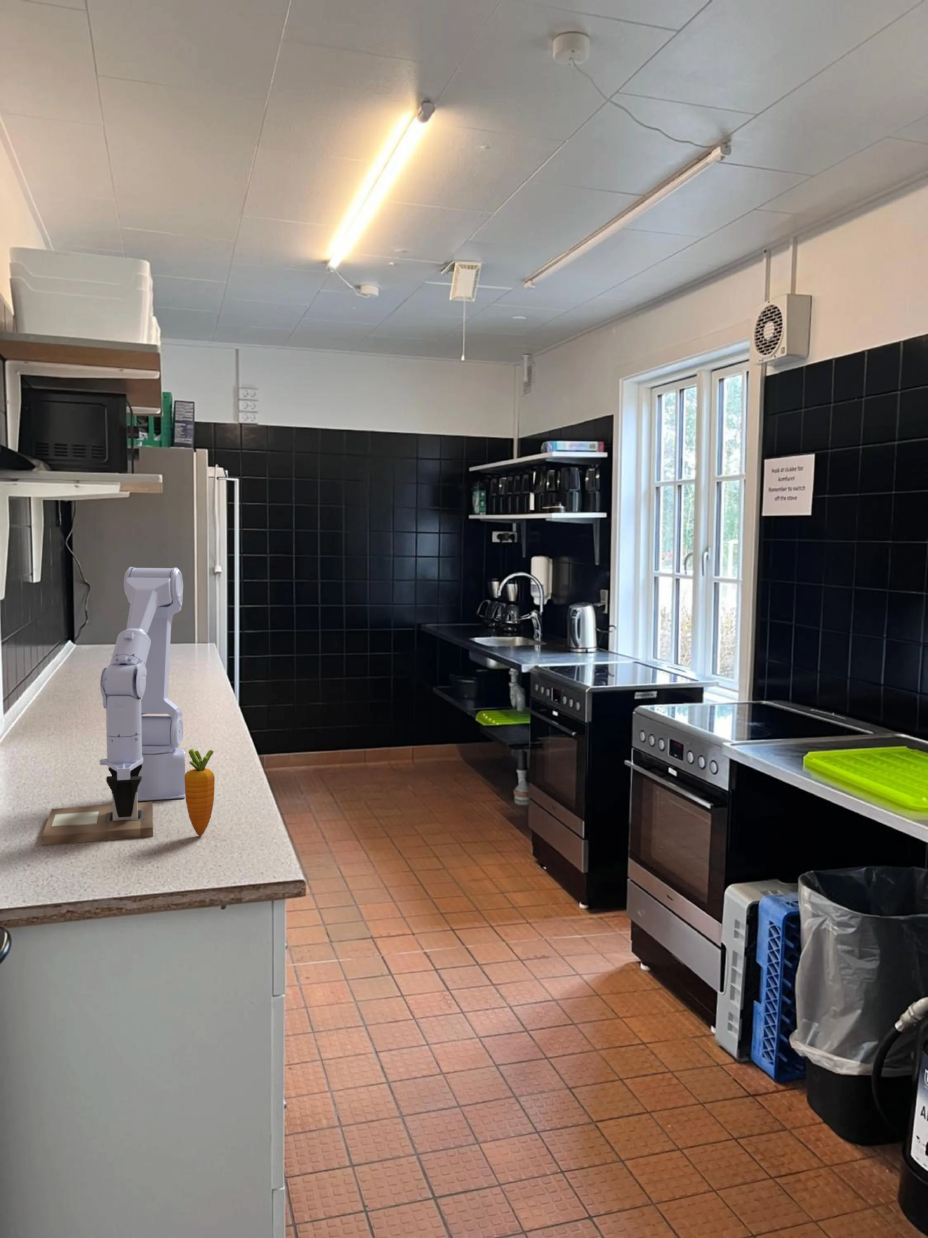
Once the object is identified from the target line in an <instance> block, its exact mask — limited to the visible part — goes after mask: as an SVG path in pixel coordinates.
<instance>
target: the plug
mask: <svg viewBox="0 0 928 1238" xmlns="http://www.w3.org/2000/svg"><path fill="white" fill-rule="evenodd" d="M111 796H112V798H111V799H112V803H111V804H112V805H113V821H116V820H129V819H138V803H139V801H138V788H137V791H136V794H135V799H134V806H133V812H132V815H131V817H118V814H117V811H116V806H115V801H114V797H113V794H112V793H111Z"/></svg>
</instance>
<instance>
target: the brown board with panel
mask: <svg viewBox="0 0 928 1238" xmlns="http://www.w3.org/2000/svg"><path fill="white" fill-rule="evenodd" d="M153 803H154V802H153V801H145V802H144V801H142V802H138V819H129V820H116V821H113V804H105V805H103V804H102V805H88V806H87V805H86V806H74V807H62V808H61V807H60V808H51V810H50V814H49V816H48V819H47V822H46V824H45V827H44V830H43V832H42V834H41V835H42V836H41V842H42V843H41V845H42V846H49V845H61V844H73V843H75V844H76V843H86V842H98V841H99V842H100V841H109V840H110V841H111V840H122V839H135V838H147V837H153V836H154V817H153V816H154V809H153V808H154V807H153V805H154V804H153Z"/></svg>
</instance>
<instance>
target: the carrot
mask: <svg viewBox="0 0 928 1238" xmlns="http://www.w3.org/2000/svg"><path fill="white" fill-rule="evenodd" d="M188 754H189V757H190V759H191V760H190V761H189V765H191V766H192V767H193V768H192V769H190V770H188V771H185V796H186V797H185V804H186V808H187V813H188V818H189V821H190V823H191V826H192V827H193V829H194V832H195V833H196V834H197V836H198V837H201V836H203V834H205V833H206V830H207V828H208V826H209V823H210V821H211V818H212V812H213V807H214V802H215V801H214V800H215V781H216V779H215V773H214V772H213V771H212V770H211V769H210V768H208V767H207V768H206V766H207V765H208V763H209V761H210V759H211V758H212V755H213V754H214V750H212V749H209V750H208V751H207V753H206V754H205V756H204V757H202V755H201V752H200V751H199V750H195V749H194V748H190V749H189V750H188Z"/></svg>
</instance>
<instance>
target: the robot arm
mask: <svg viewBox="0 0 928 1238" xmlns="http://www.w3.org/2000/svg"><path fill="white" fill-rule="evenodd" d="M123 590H124V594H125V596H126V599H127V602H128V603H129V611H128V615H127V616H128V617H127V624H126V629H125V630H122V631H121V632H119V634H118V635H117V638H116V642H115V645H114V649H113V652H112V655H111V659H110V663H109V665H108V666H107V667H104V668H103V669H102V671H101V674H100V679H99V680H100V681H99V682H100V683H99V687H100V688H99V689H100V693H101V696H102V706H103V708H104V710H105V714H106V715H105V719H106V720H105V721H106V722H105V723H106V724H105V725H106V726H105V727H106V730H105V731H106V758H101V759H99V765H100V766H107V767H108V771H109V774H110V775H108V776H106V778H105V779H106V784H107V785H108V787H109V788H110V791H111V795H112V794H113V797H114V801H115V806H116V811H117V814H118V817H131V815H132V812H133V806H134V799H135V794H136V791H137V788H138V802H144V801H145V802H146V801H157V800H158V801H159V800H172V799H174V800H175V799H186V796H185V773H186V754H185V753H186V751H185V749H183V748H179V746H180V745H181V744H182V742H183V737H184V736H183V735H184V724H183V712H182V709H181V708H180V707H179V705H177V704H175V703H174V702H173V701H171V699H169V679H170V678H169V677H170V660H171V656H170V655H171V639H172V638H171V635H172V634H171V633H172V624H173V618H174V615H175V614H177V613H180V611H182V607H183V597H184V596H183V593H184V581H183V574H182V571H181V570H180V569H179V568H178V567H172V568H171V567H170V568H169V567H167V568H166V567H134V566H130V567H128V568H127V570H126V571H125V573H124V576H123ZM149 714H150V715H149ZM151 714H152V715H151ZM155 714H156V715H155ZM157 714H158V715H157ZM163 714H165V715H166V716H165V715H163Z"/></svg>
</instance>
